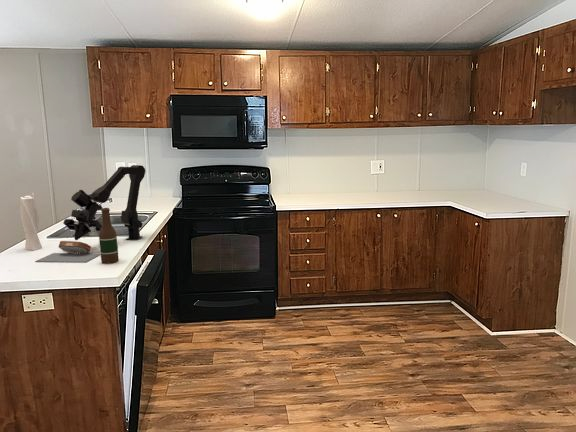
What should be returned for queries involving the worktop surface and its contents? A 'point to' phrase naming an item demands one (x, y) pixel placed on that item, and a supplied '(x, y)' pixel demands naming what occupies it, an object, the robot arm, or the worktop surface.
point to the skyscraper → (30, 222)
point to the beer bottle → (108, 239)
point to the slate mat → (69, 257)
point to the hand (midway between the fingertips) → (75, 239)
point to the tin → (74, 247)
